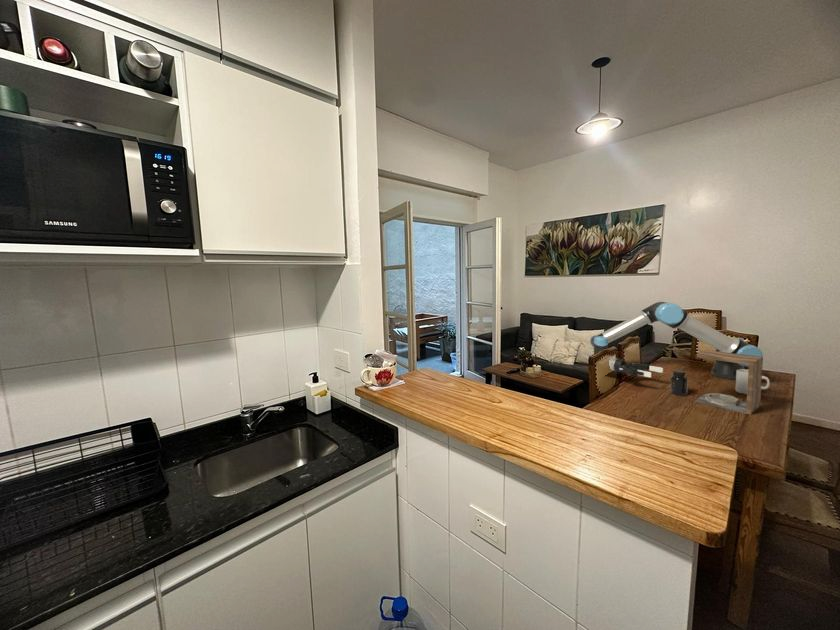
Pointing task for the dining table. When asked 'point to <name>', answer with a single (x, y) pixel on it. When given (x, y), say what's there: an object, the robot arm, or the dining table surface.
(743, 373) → the mug
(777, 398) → the dining table surface
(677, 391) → the supplement bottle
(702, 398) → the awning stand
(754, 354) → the robot arm
